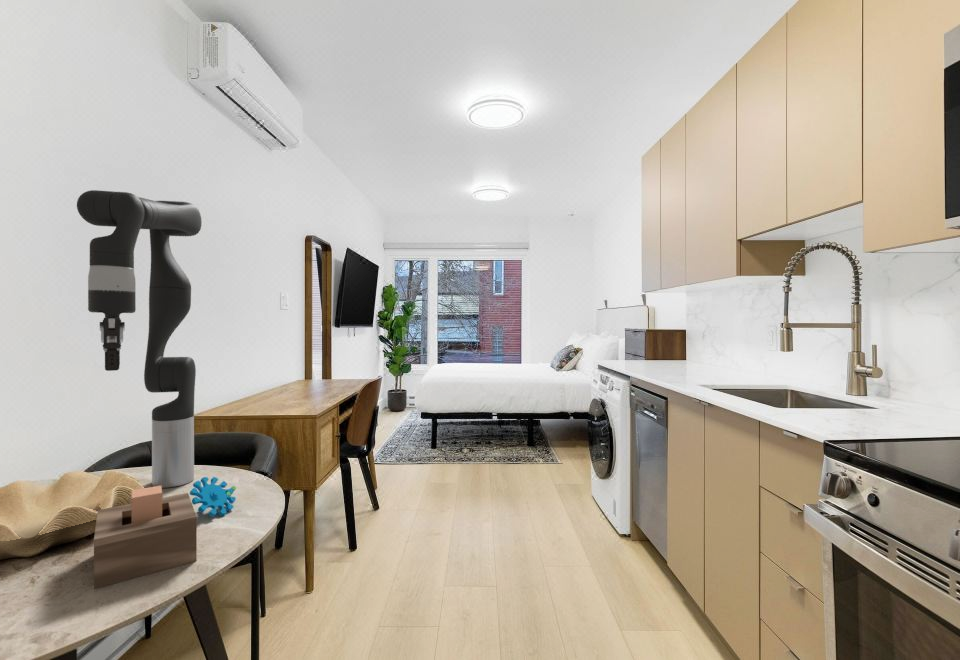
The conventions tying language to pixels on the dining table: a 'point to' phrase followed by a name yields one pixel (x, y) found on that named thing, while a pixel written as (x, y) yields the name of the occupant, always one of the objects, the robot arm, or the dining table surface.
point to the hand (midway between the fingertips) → (112, 368)
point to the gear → (213, 496)
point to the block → (146, 504)
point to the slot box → (143, 541)
